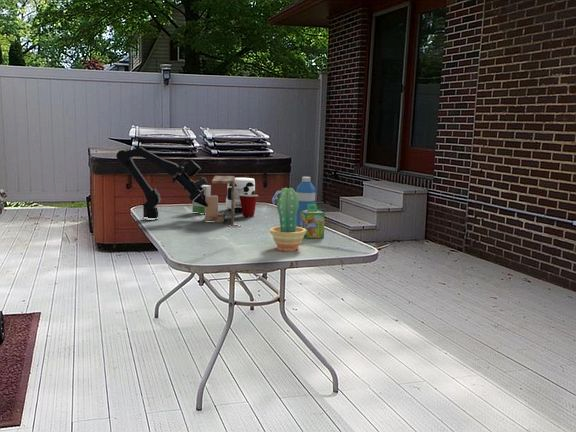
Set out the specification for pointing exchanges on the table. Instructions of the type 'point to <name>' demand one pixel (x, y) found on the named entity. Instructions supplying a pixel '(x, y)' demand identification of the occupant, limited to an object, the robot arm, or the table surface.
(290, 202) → the potted cactus
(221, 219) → the shelf
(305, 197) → the water bottle
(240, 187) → the milk container
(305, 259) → the table surface
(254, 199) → the plastic cup
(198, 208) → the skincare box
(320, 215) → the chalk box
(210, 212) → the terracotta box
